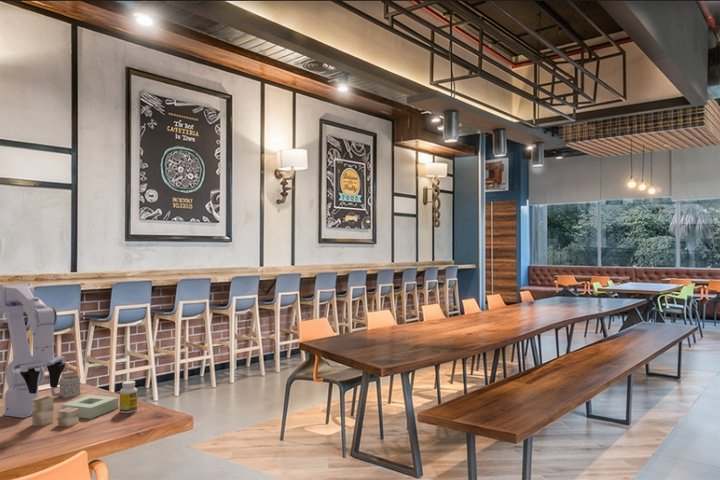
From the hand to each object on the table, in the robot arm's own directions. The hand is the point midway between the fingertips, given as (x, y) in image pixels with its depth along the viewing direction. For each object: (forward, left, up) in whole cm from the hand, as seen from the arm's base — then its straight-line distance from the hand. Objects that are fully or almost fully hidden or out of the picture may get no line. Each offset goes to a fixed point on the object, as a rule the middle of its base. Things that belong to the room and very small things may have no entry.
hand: (43, 390), depth 167 cm
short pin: (+8, +2, -11) cm, 13 cm away
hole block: (+5, +14, -10) cm, 18 cm away
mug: (-18, +26, -11) cm, 33 cm away
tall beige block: (0, 0, -11) cm, 11 cm away
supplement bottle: (+17, +18, -11) cm, 27 cm away
